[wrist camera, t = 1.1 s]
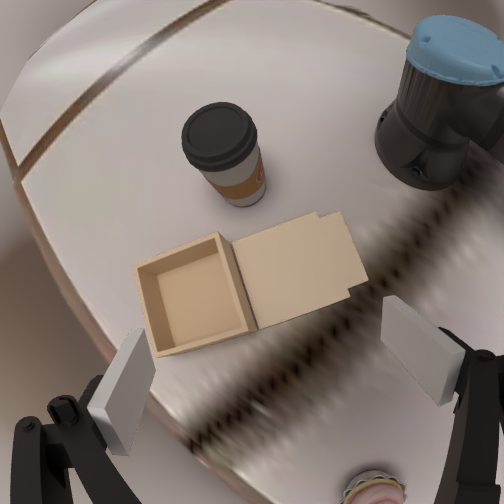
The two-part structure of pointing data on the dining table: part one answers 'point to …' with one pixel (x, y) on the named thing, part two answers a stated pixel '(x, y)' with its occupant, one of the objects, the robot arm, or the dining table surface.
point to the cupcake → (374, 489)
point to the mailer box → (255, 278)
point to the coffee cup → (226, 151)
